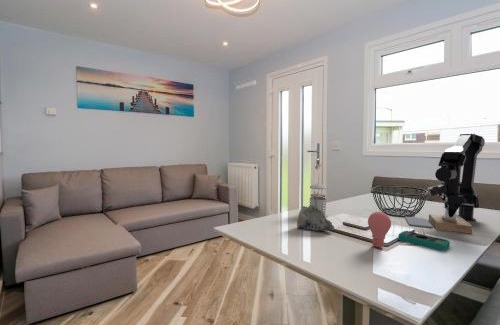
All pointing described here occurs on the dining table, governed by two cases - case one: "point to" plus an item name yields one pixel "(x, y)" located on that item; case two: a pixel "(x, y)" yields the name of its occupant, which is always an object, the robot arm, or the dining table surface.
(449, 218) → the steel peg
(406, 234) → the digital multimeter
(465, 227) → the walnut socket block
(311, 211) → the mineral rock
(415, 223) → the grey flat slab
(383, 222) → the light bulb
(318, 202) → the french press
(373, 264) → the dining table surface
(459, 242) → the dining table surface
